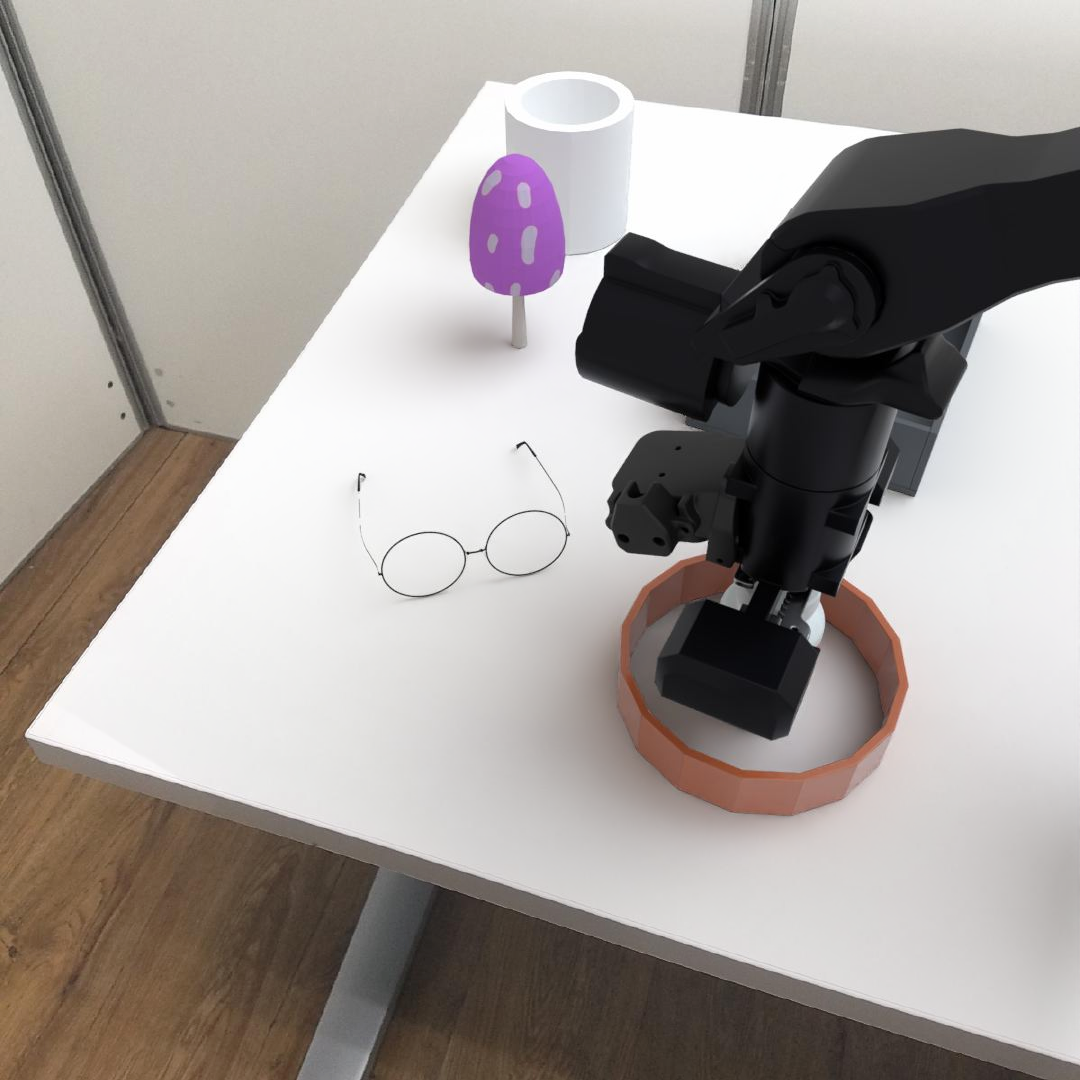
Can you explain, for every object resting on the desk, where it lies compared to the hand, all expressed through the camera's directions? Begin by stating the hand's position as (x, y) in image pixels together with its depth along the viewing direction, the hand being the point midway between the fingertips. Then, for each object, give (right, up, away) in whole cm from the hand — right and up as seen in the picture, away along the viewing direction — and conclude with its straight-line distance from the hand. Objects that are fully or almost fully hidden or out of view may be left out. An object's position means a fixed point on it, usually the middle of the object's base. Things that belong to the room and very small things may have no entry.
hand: (761, 659), depth 57 cm
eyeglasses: (-17, +7, +11) cm, 22 cm away
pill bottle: (0, -2, +2) cm, 3 cm away
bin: (+10, +19, +21) cm, 30 cm away
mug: (-9, +34, +35) cm, 50 cm away
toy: (-13, +21, +23) cm, 34 cm away
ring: (0, -2, +2) cm, 3 cm away
